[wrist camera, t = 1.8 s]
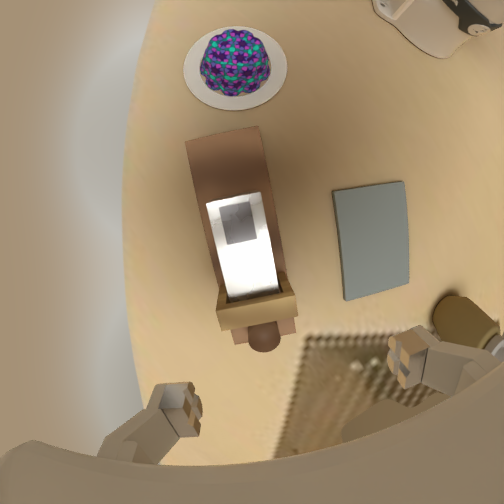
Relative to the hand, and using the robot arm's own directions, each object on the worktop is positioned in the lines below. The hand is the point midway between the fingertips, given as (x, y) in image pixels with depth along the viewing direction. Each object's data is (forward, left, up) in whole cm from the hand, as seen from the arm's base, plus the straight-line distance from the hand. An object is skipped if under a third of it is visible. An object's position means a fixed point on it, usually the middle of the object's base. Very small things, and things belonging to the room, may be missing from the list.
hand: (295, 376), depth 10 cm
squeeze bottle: (+18, +29, -23) cm, 41 cm away
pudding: (-21, +2, -23) cm, 31 cm away
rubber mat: (+3, +15, -23) cm, 27 cm away
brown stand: (-1, -1, -23) cm, 23 cm away
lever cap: (-1, -1, -18) cm, 18 cm away
